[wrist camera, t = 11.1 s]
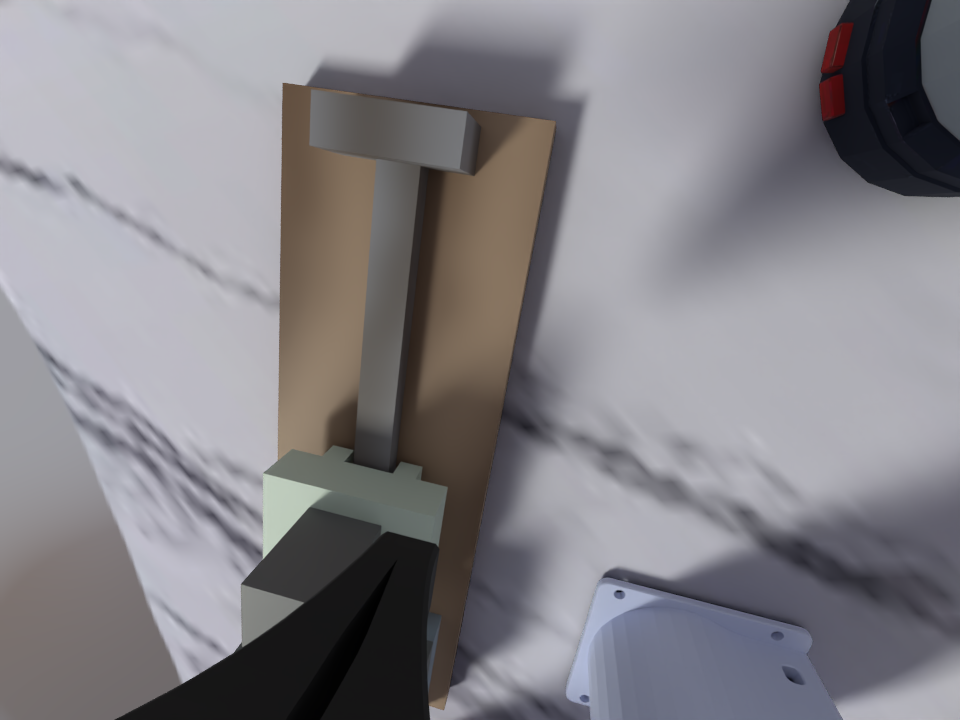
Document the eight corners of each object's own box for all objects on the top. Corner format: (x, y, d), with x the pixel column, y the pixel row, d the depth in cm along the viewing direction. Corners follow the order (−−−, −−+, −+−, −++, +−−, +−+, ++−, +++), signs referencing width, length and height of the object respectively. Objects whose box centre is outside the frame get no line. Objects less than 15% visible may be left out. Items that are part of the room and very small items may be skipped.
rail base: (556, 127, 16) (551, 72, 10) (449, 688, 26) (413, 835, 20) (300, 91, 17) (159, 23, 11) (287, 640, 27) (205, 764, 21)
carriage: (453, 474, 20) (397, 602, 13) (436, 581, 22) (380, 740, 15) (304, 438, 20) (181, 542, 14) (300, 544, 22) (191, 679, 16)
